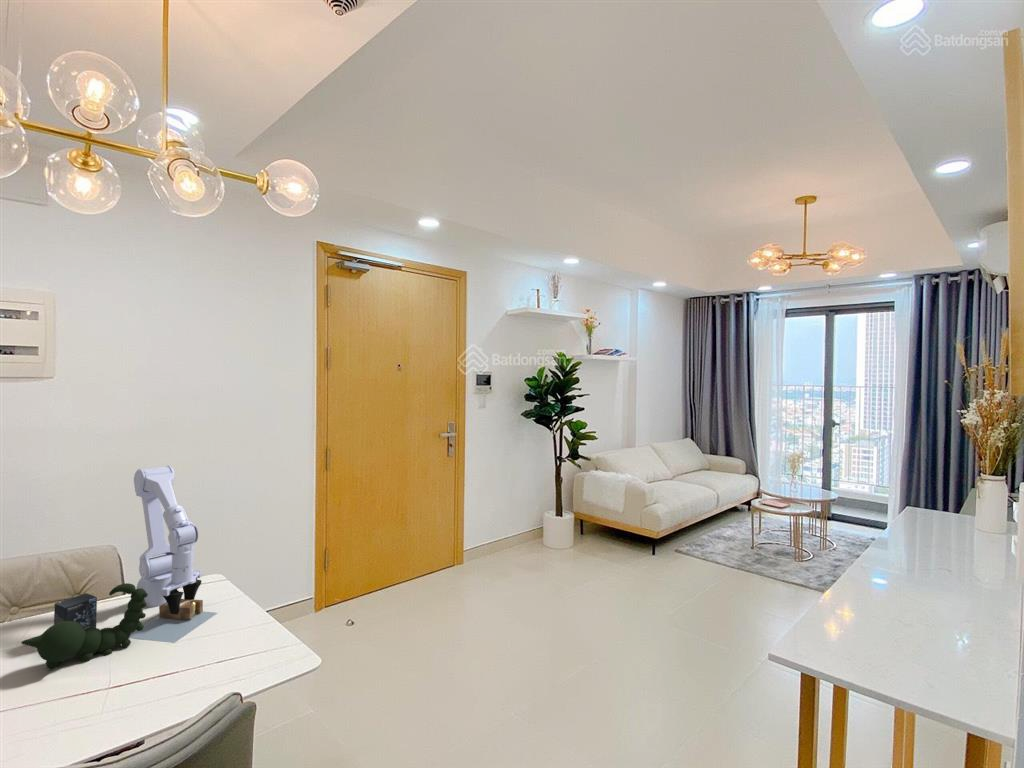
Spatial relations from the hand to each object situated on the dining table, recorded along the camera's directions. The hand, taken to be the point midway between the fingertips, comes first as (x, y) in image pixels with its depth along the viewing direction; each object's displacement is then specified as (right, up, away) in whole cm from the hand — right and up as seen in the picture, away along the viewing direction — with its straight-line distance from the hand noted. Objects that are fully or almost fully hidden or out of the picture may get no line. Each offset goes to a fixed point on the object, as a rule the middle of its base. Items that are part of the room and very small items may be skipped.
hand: (181, 609), depth 160 cm
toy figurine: (-10, -3, -23) cm, 25 cm away
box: (-22, -3, -13) cm, 26 cm away
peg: (+3, -3, 0) cm, 4 cm away
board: (+1, -3, -6) cm, 6 cm away
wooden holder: (0, -2, 0) cm, 2 cm away
